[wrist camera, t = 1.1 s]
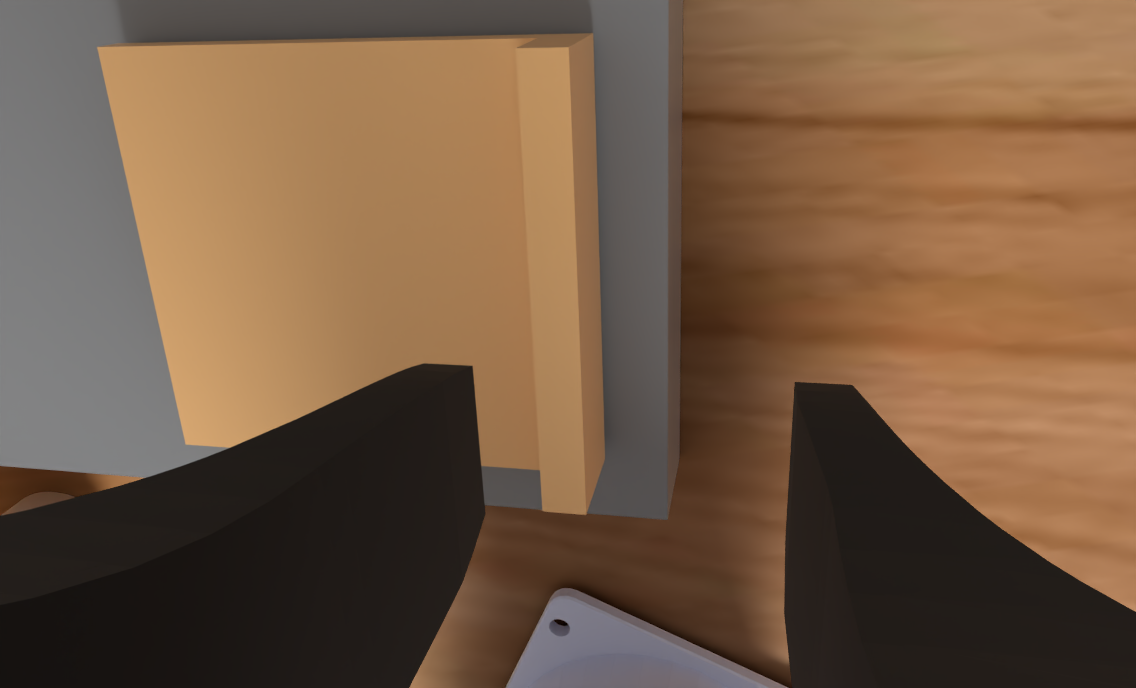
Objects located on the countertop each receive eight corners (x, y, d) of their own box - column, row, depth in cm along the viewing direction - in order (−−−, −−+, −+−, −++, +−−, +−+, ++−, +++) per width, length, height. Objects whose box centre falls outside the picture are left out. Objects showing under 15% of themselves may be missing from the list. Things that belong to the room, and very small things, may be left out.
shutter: (593, 33, 16) (568, 47, 14) (605, 458, 19) (586, 514, 17) (118, 43, 18) (42, 56, 16) (201, 431, 21) (146, 479, 19)
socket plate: (683, -71, 17) (668, -70, 15) (679, 458, 22) (667, 519, 20) (-179, -34, 21) (-292, -30, 19) (-37, 409, 26) (-115, 456, 23)
